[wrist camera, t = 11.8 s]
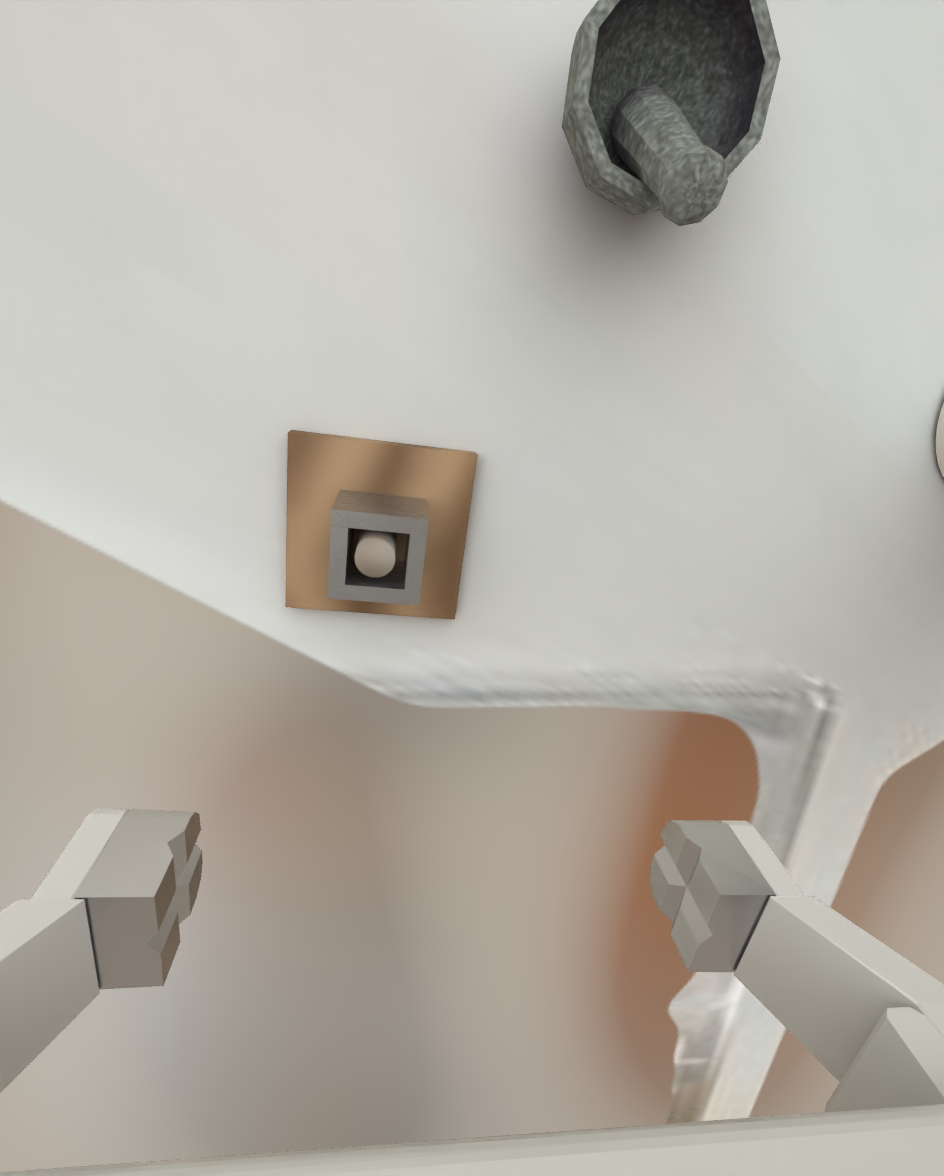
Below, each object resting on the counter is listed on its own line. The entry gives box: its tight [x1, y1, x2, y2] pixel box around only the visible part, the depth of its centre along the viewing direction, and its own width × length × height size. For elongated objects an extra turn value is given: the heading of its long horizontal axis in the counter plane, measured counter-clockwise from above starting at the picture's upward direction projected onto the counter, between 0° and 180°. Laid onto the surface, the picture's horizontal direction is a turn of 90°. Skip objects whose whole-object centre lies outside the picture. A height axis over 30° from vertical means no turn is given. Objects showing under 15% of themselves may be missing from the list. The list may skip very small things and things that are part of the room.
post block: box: [286, 430, 477, 619], centre depth 37 cm, size 12×12×6 cm
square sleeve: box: [327, 489, 429, 606], centre depth 36 cm, size 6×6×5 cm
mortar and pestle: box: [562, 0, 780, 226], centre depth 27 cm, size 11×9×12 cm
